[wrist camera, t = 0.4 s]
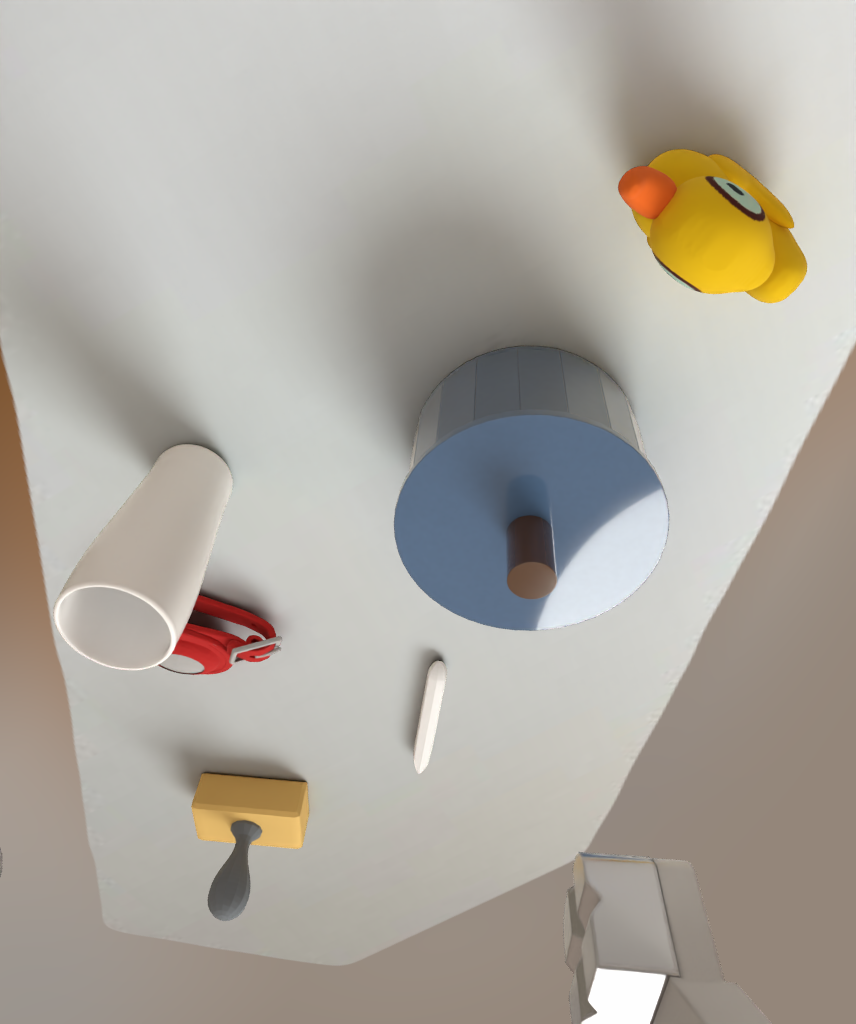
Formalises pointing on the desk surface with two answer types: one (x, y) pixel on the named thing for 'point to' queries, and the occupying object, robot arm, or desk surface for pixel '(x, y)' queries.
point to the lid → (531, 520)
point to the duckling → (715, 225)
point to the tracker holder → (220, 642)
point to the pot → (524, 393)
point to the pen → (429, 714)
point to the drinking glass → (147, 563)
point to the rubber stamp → (246, 828)
